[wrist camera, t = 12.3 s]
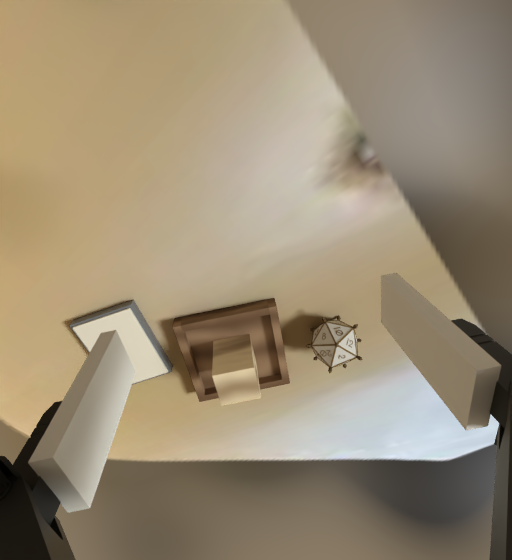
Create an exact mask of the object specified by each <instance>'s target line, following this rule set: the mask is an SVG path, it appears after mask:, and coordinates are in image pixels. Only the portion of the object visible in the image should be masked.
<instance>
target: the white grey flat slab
mask: <svg viewBox="0 0 512 560" xmlns="http://www.w3.org/2000/svg"><path fill="white" fill-rule="evenodd" d="M69 326H70V327H71V329H72V330H73V332H74V333H75V334H76V336H77V337H78V338H79V340H80V341H81V342H82V344H83V345H84V347H85V348H86V349H87V351H88V352H89V353H90V351H91V349H92V348H93V346H94V344H95V342H96V341H97V339H98V337H99V335H100V333H103V332H108V331H113V330H117V332H118V335H119V337H120V339H121V341H122V343H123V345H124V348H125V350H126V352H127V354H128V356H129V358H130V361H131V363H132V365H133V367H134V369H135V371H136V373H135V376H134V379H133V382H132V385H133V384H136V383H139V382H142V381H145V380H148V379H151V378H154V377H157V376H161V375H164V374H167V373H170V372H172V367H173V366H172V364H171V362H170V361H169V359H168V357H167V356H166V354H165V352H164V351H163V349H162V347H161V346H160V344H159V342H158V340H157V339H156V337H155V335H154V334H153V332H152V330H151V329H150V327H149V325H148V324H147V322H146V320H145V319H144V317H143V315H142V313H141V312H140V310H139V308H138V307H137V305H136V303H135V302H134V300H131V301H128V302H125V303H122V304H119V305H117V306H114V307H111V308H108V309H105V310H102V311H99V312H96V313H93V314H90V315H87V316H84V317H81V318H78V319H75V320H73V321H72V322H71V324H70V325H69Z"/></svg>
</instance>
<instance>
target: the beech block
mask: <svg viewBox="0 0 512 560" xmlns="http://www.w3.org/2000/svg"><path fill="white" fill-rule="evenodd" d="M212 377H213V380H214V383H215V387H216V390H217V393H218V396H219V399H220V402H221V405H222V406H223V405H228V404H233V403H238V402H243V401H248V400H253V399H257V398H261V393H260V386H259V379H258V372H257V365H256V359H255V355H254V351H253V346H252V342H251V337H250V334H246V335H241V336H236V337H231V338H226V339H221V340H216V341H213V365H212Z"/></svg>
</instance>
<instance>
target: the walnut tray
mask: <svg viewBox="0 0 512 560" xmlns="http://www.w3.org/2000/svg"><path fill="white" fill-rule="evenodd" d="M173 330H174V332H175V335H176V338H177V341H178V343H179V346H180V349H181V352H182V355H183V357H184V360H185V363H186V366H187V368H188V371H189V374H190V377H191V379H192V382H193V385H194V388H195V391H196V393H197V396H198V399H199V402H201V401H206V400H211V399H216V398H219V396H218V393H217V390H216V387H215V383H214V380H213V377H212V365H213V341H216V340H221V339H226V338H231V337H236V336H241V335H246V334H250V337H251V342H252V346H253V351H254V355H255V359H256V365H257V372H258V379H259V386H260V389H265V388H270V387H274V386H279V385H284V384H289V383H290V381H289V375H288V369H287V363H286V358H285V352H284V346H283V340H282V335H281V329H280V323H279V317H278V312H277V306H276V303H275V299H274V298H272V299H267V300H262V301H257V302H252V303H247V304H242V305H238V306H233V307H228V308H223V309H218V310H213V311H208V312H203V313H198V314H193V315H188V316H183V317H178V318H175V320H174V324H173Z"/></svg>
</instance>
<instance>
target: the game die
mask: <svg viewBox="0 0 512 560" xmlns="http://www.w3.org/2000/svg"><path fill="white" fill-rule="evenodd" d="M322 320H323V321H324V322H323V323H322V324H321V325H320V326H319V327H318V328H316V329H315V330H314V328H310V329H311V331H313V332H314V333H313V338H312V343H311V345H310V344H308V345H307V346H306V347H308V348H310V347H312V349H313V351H314V353H315V355H316V357H314V360H317V358H318V359H320V360H321V361H322V362H323V363H325V364H326V365H327V366H328V367H329V370H328V371H329V373H331V372H332V368H333V367H336V366H340V365H343V367H344V368H346V364H345V363H347V362H349V361H351V360H353V359H355V358H358V359H359V360H362V358H361V357H360V356H358V342H361V339H357V337H356V333H355V328H356V327H357V326H358V324H356V325H354V326H353V327H352V326H350V325H347V324H345V323H343V322H341V321H340V316H338V317H337V320H334V321H326V318H324V317H323V319H322Z"/></svg>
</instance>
